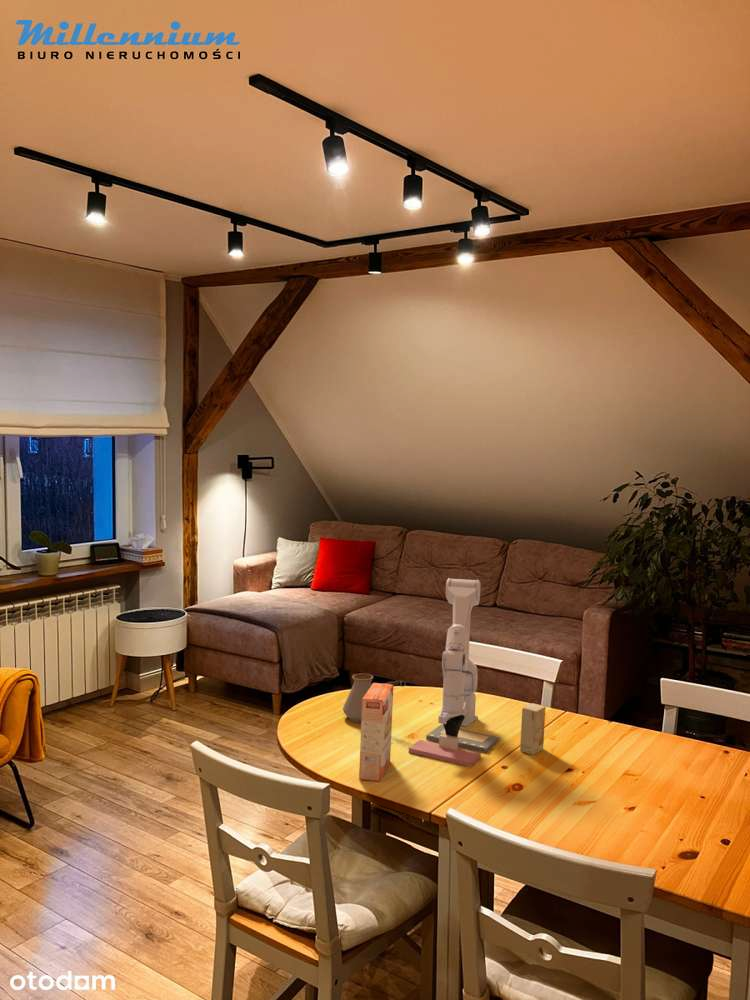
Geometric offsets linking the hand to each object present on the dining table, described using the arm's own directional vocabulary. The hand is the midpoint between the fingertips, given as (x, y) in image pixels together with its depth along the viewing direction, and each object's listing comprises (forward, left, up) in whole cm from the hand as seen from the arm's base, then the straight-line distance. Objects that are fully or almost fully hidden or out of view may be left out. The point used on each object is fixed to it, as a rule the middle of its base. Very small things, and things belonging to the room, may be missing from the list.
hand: (451, 741), depth 225 cm
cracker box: (+23, -11, -2) cm, 26 cm away
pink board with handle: (+5, 0, -2) cm, 5 cm away
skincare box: (-12, +19, -2) cm, 23 cm away
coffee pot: (-7, -28, -2) cm, 29 cm away
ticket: (-8, 0, -2) cm, 8 cm away
